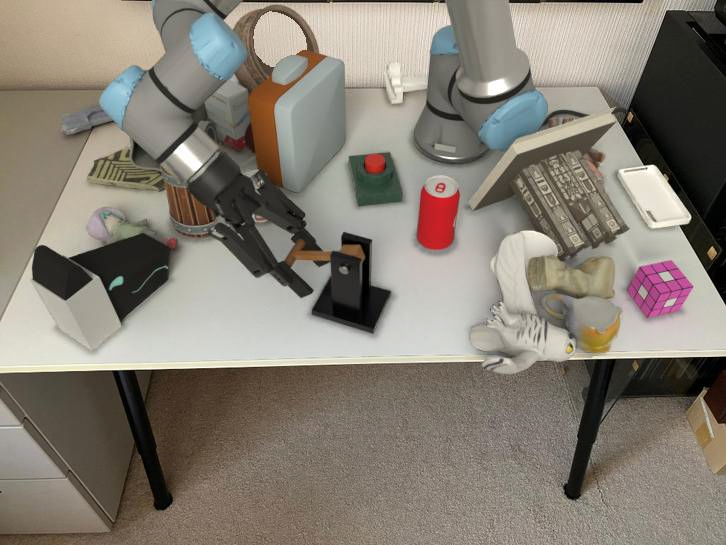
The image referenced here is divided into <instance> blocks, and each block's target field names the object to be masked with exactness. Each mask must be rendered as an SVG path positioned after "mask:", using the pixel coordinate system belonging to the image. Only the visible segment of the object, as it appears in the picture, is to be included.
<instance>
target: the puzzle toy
mask: <svg viewBox="0 0 726 545" xmlns="http://www.w3.org/2000/svg"><path fill="white" fill-rule="evenodd" d="M693 289H694V285H693V284H692V283H691V281H690V280H689V279H688V278H687V277H686V275H685V274H684V273H683V272H682V270H680V268H679V267H678V265H676V263H675V262H674V261H673V260H672V259H669V260H663V261H661V262H656V263H655V262H654V263H651V264H647V265H641V266H638V268H637V270H636V273H635V275H634V276H633V278H632V280H631V283H630V285H629V287H628V288H627V292H628V294H629V295H630V296H631V298H632V300H633V301H634V302H635V303H636V305H637V306H638V307H639V309H640V311H641V312H642V313H643V314H644V316H645V317H646V318H647V319H648V318H649V319H650V318H653V317H657V316H661V315H666V314H669V313H674V312H679V311H680V310H681V308H682V307H683V305H684V303H685V302H686V300H687V299H688V297H689V295H690V294H691V292H692V291H693Z"/></svg>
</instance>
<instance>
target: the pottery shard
mask: <svg viewBox="0 0 726 545" xmlns="http://www.w3.org/2000/svg"><path fill="white" fill-rule="evenodd" d="M129 154H130V148H128V147H124V148H123V149H120V150H118V151H116V152H113V153H111V154H108V155H106V156H103V157H100V158H97V159H94V160H93V166H92V168H91V170H90V172H89V173H88V174H87V176H86V181H87V182H89V183H93V184H100V185H107V186H115V187H122V188H123V187H124V188H131V189H143V190H154V191H157V192H160V191H162V190H164V189H166V188H165V183H164V179H163V177H162V173H160V171H157V170H145V169H140V168H137V167H135V166H134V165H133V164H132V163H131V161H130V158H129Z"/></svg>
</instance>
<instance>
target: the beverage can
mask: <svg viewBox="0 0 726 545" xmlns="http://www.w3.org/2000/svg"><path fill="white" fill-rule="evenodd" d="M460 198H461V192H460V189H459V184H458V183H457V181H456V180H455V179H454V178H453V177H451V176H448V175H444V174H437V175H431V176H430V177H428V178H427V179H426V180H425V182H424V184H423V186H422V187H421V189H420V197H419V206H418V207H419V208H418V217H417V228H416V229H417V230H416V240H417V241H418V243H419V244H420V245H421V246H422V247H424V248H425V249H427V250H429V251H430V250H432V251H442V250H445V249H447V248H449V247H450V246H451V245H452V244H453V242H454V238H455V233H456V232H455V231H456V230H455V229H456V226H457V218H458V212H459V206H460V200H461V199H460Z"/></svg>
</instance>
